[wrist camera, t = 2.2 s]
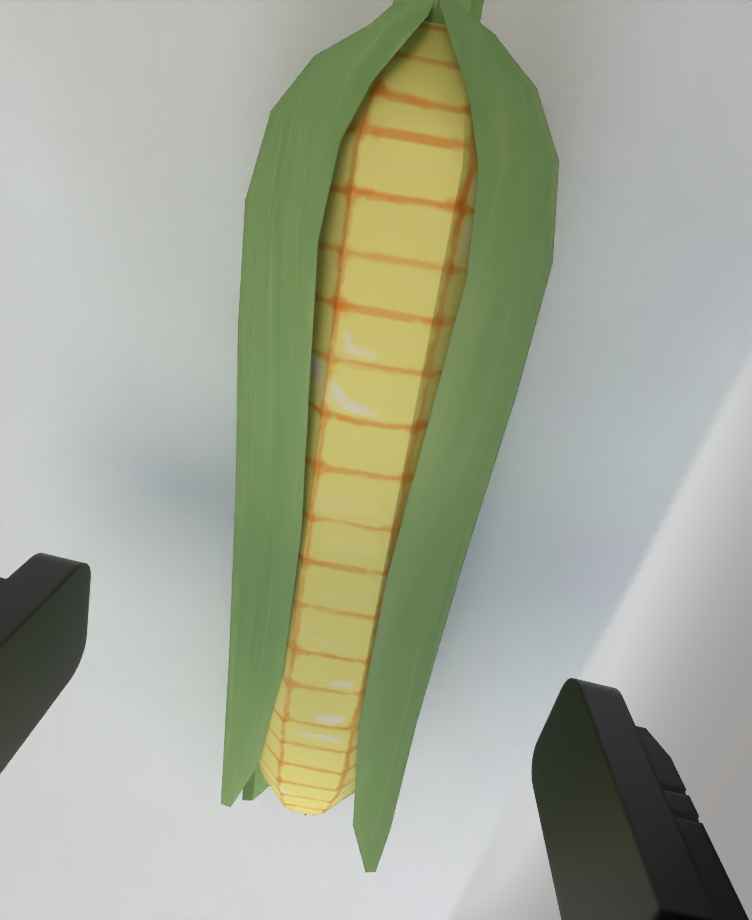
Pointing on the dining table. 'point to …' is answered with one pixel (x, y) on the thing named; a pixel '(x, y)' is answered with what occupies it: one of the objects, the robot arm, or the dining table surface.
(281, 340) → the edible corn
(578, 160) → the dining table surface
